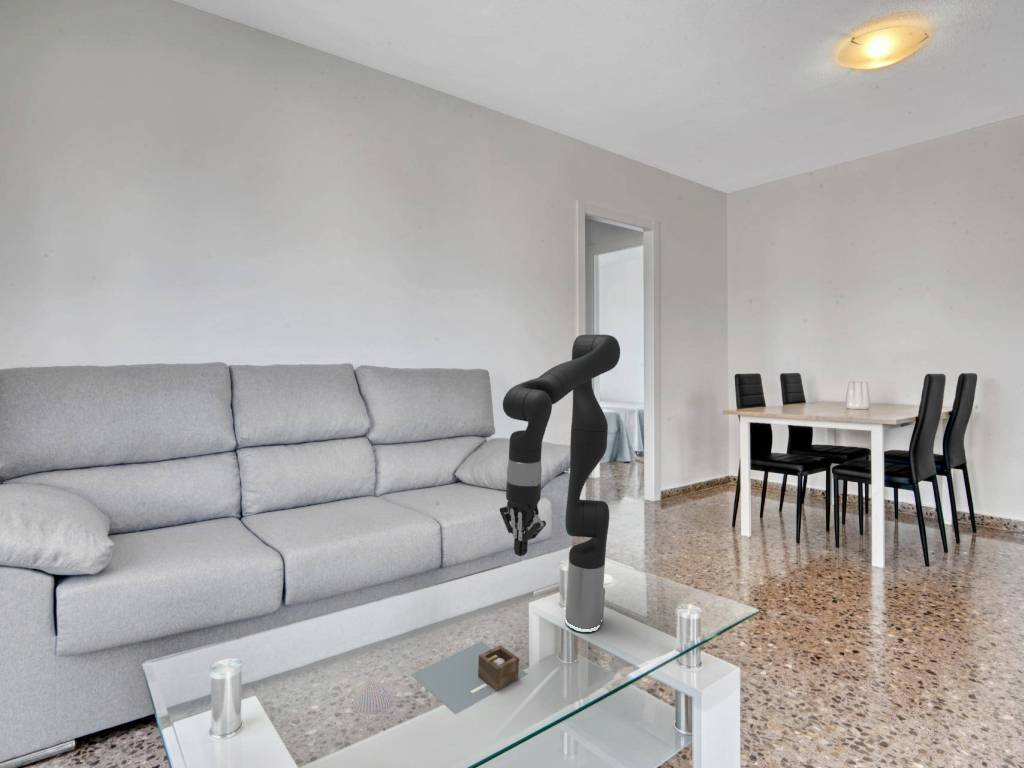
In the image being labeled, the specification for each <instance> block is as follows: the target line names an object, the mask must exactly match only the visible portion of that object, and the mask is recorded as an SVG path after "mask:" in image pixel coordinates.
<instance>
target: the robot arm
mask: <svg viewBox="0 0 1024 768" xmlns="http://www.w3.org/2000/svg"><path fill="white" fill-rule="evenodd" d="M572 344H573V345H572V349H571V360H568V361H564V362H563V363H559V364H557V365H555V366H553V367H551V368H550V369H548V370H546V371H545V372H544V373H543V374H541V375H540V376H539V377H537V378H533V379H529V380H526V381H523V382H521V383H519V384H516V385H514V386H513V387H511V388H510V389H509V390H508V391H507V392H506V393H505V395H504V397H503V400H502V410H503V412H504V414H506V416H507V417H509V418H510V419H513V420H517V421H521V422H522V421H524V422H527V426H526V429H524V430H515V431H513V432H512V433H511V434H510V436H509V442H508V443H509V446H508V463H507V468H506V488H505V489H506V491H505V498H506V501H507V503H506V506H503V507H499V513H500V515H501V518H502V520H503V523H504V525H505V528H506V530H507V532H508V533H509V534H512V537H513V542H514V543H513V550H514V555H516V556H518V557H523V556H525V555H526V554H527V553H528V545H529V544H528V543H529V541H530V540H532V539H535V538H537V536H538V535H540V532H541V531H542V530H543V529H544V528H545V527H546V525H547V522H546V521H545V520H542V519H541V518H540V516H539V513H540V512H539V509H538V508H539V507H538V505H539V503H540V501H541V490H542V472H543V471H542V469H543V468H542V448H543V447H542V445H543V444H542V443H543V439H544V436H545V434H546V431H547V430H546V428H547V427H548V424H549V420H550V418H551V416H552V409H553V405H554V404H557V403H558V402H560V401H561V400H562V399H564V397H566V396H567V395H568V394H569V393H571V392H572V414H571V426H570V428H571V429H570V447H569V448H570V450H569V451H570V453H569V455H570V457H569V458H570V461H569V479H568V489H567V499H566V500H567V501H566V506H565V507H566V509H565V518H564V519H565V521H564V522H565V523H564V524H565V530H566V534H567V535H568V536H569V537H576V538H577V537H578V538H579V537H581V538H590V539H588V540H586V541H583V542H581V543H577V544H575V545H573V546H572V547H571V548H570V550H569V553H568V567H567V568H568V570H567V571H568V572H567V587H566V600H565V602H566V604H565V618H566V620H567V622H568V623H569V624H571V625H573V626H575V627H578V628H581V629H591V628H594V627H597V626H598V625H600V623H601V620H602V619H603V620H604V613H605V600H606V598H605V596H606V588H605V587H604V583H605V568H606V567H605V566H606V565H605V564H606V555H607V554H606V552H607V551H606V550H607V540H608V533H609V526H610V524H609V523H610V508H609V505H608V503H607V502H606V501H603V500H592V499H581V495H582V492H583V488H584V486H585V484H586V482H587V480H588V479H589V477H590V475H591V474H592V472H594V470H595V469H596V467H597V466H598V465H599V463H600V462H601V461H602V459H603V457H604V456H605V454H606V452H607V447H608V434H609V433H608V431H609V429H608V428H609V425H608V420H607V417H606V414H605V412H604V410H603V409H602V407H601V405H600V403H599V401H598V399H597V397H596V395H595V392H594V389H593V379H594V378H597V377H599V376H601V375H603V374H605V373H608V372H609V371H612V370H613V369H614V368H615V367H616V366H617V365H618V363H619V361H620V358H621V346H620V343H619V341H618V339H617V338H616V337H614V336H613V335H610V334H580V335H578V336H577V337H575V339H574V341H573V343H572ZM601 624H602V623H601Z"/></svg>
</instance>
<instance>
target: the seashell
mask: <svg viewBox="0 0 1024 768" xmlns="http://www.w3.org/2000/svg"><path fill="white" fill-rule="evenodd" d="M396 699H397V693H396V692H395V690H394V689H393V688H391V687H390V686H388V685H387V684H385V683H383V682H382V681H379V680H375V679H370V680H367V681H366V682H365V683H363V684H362V685H361V687H360V688H359V689H358V691H357V693H356V694H355V696H354V697H352V700H351V704H352V709H353V710H354V711H355V712H357V713H359V714H361V715H362V714H364V715H367V716H370V715H371V716H377V715H380V713H379V712H382V710H385V709H387V710H391V708H392V707H393V706H394V704H395V703H396ZM385 711H386V710H385Z"/></svg>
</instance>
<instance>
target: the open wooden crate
mask: <svg viewBox="0 0 1024 768" xmlns="http://www.w3.org/2000/svg"><path fill="white" fill-rule="evenodd" d="M498 658H502V659H504V661H505V662H504V663H502V664H500V665H496V664H495V663H494V662H493V661H494V660H496V659H498ZM519 668H520V658H519V657H518V656H517V655H515V654H514V653H512V652H511V651H509V650H508V649H507V648H505V647H504V646H502V645H497V646H496V647H494V648H491V650H489V651H487V652H485V653H483V654H481V655H479V664H478V677H479V678H480V679H482V680H483V681H484V682H485V683H487V684H488V685H489V686H491V687H492V688H493V689H494V690H496V692H498V691H501V690H502V689H504V688H505V687H507V686H509V685H511V684H513V683H514V682H516V681H518V680H519V679H518V672H519ZM503 687H504V688H503Z"/></svg>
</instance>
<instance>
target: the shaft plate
mask: <svg viewBox="0 0 1024 768" xmlns="http://www.w3.org/2000/svg"><path fill="white" fill-rule="evenodd" d="M491 649H492V647H490V646H488V645H487V644H486V643H484V642H483V641H479V642H477V643H475V644H473V645H471V646H469V647H467V648H464V649H462V650H460V651H458V652H456V653H454V654H452V655H449V656H447V657H445V658H443V659H441V660H438V661H436V662H434V663H432V664H430V665H428V666H426V667H424V668H422V669H420V670H417V671H416V672H414V673H411V674H410V676H411V677H412V678H413V679H414V680H416V681H417V682H418V683H420V685H421V686H422V687H424V688H425V689H426V690H427V691H428V692H429V693H431V694H432V695H433V697H435V698H436V699H437V700H439V701H440V702H441V703H442V704H443V705H444V706H445V707H446V708H447V709H449V710H450V711H451V712H452V713H453V714H454V715H457V714H459V713H461V712H462V711H464V710H465V709H468V708H470V707H471V706H473V705H475V704H476V703H479V702H480V701H482V700H484V699H486V698H487V697H490V696H491V695H494V693H497V691H496V690H494V689H493V688H492V687H491V686H489V685H488V684H487V683H485V682H484V681H483V680H482V679H480V678H479V677H478V664H479V655H481V654H483V653H485V652H487V651H489V650H491ZM493 662H494V663H495V664H496V665H500V664H502V663H504V662H505V661H504V659H502V658H498V659H496V660H494V661H493ZM527 675H528V673H527V672H525V671H524V670H523V669H521V668H520V667H519V672H518V680H520V679H521V678H524V677H525V676H527ZM504 688H505V687H503V688H502V689H504Z"/></svg>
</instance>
